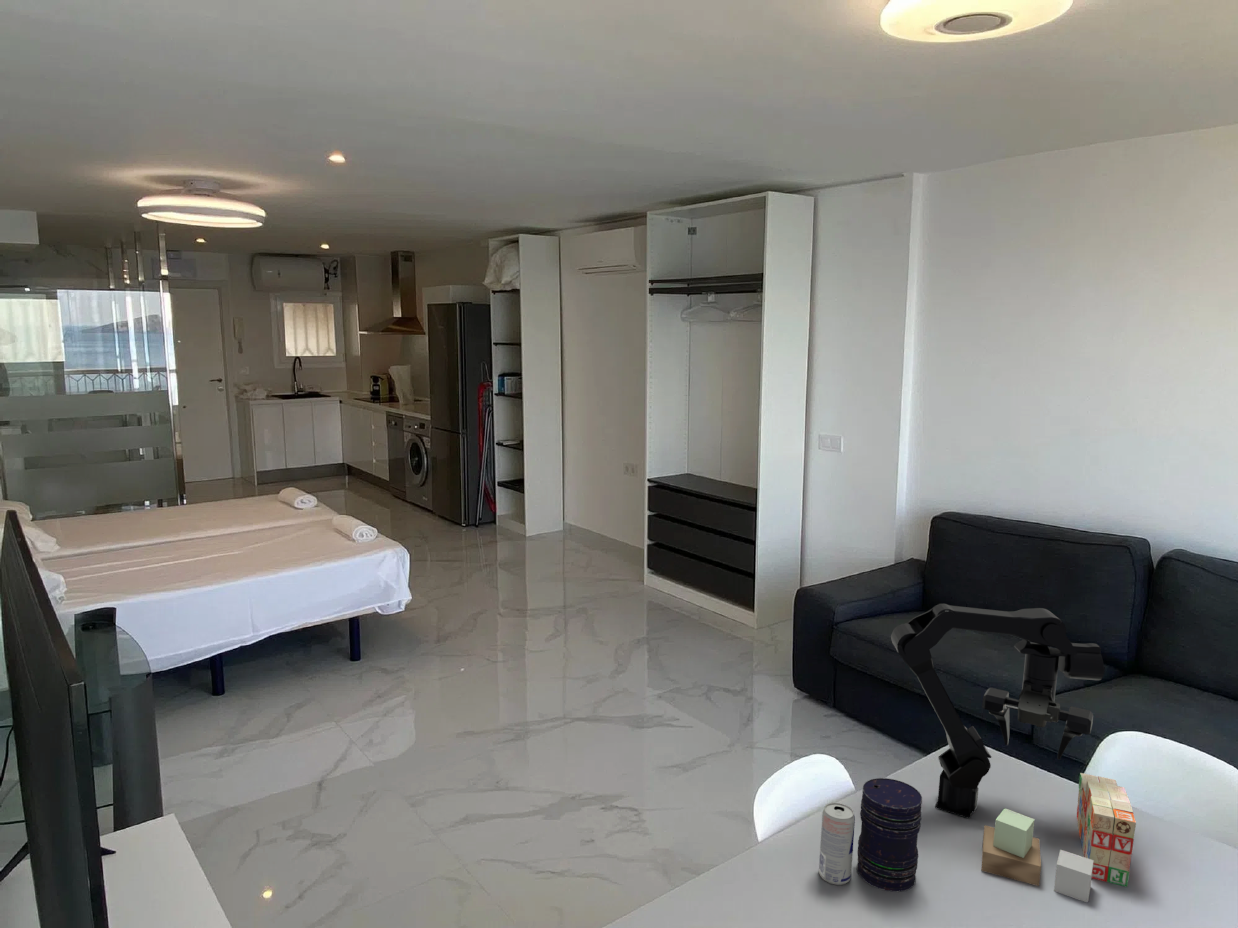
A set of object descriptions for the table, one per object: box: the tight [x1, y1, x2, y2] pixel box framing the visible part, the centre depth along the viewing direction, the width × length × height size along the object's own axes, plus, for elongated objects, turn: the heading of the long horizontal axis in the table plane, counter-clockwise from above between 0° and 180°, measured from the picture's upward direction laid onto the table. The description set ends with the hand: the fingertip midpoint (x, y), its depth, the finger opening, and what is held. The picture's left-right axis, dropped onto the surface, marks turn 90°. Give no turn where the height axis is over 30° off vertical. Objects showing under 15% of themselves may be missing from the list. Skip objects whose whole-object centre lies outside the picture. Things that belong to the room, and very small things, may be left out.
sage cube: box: [993, 808, 1036, 858], centre depth 143 cm, size 5×5×5 cm
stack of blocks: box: [1076, 772, 1137, 888], centre depth 149 cm, size 21×6×12 cm, turn 155°
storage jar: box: [856, 777, 923, 893], centre depth 139 cm, size 10×10×15 cm
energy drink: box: [818, 802, 856, 886], centre depth 139 cm, size 5×5×12 cm
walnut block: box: [980, 824, 1042, 887], centre depth 144 cm, size 9×9×4 cm
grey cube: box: [1053, 849, 1094, 903], centre depth 137 cm, size 5×5×5 cm
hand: (1032, 751), depth 159 cm, fingers open, 9 cm apart
